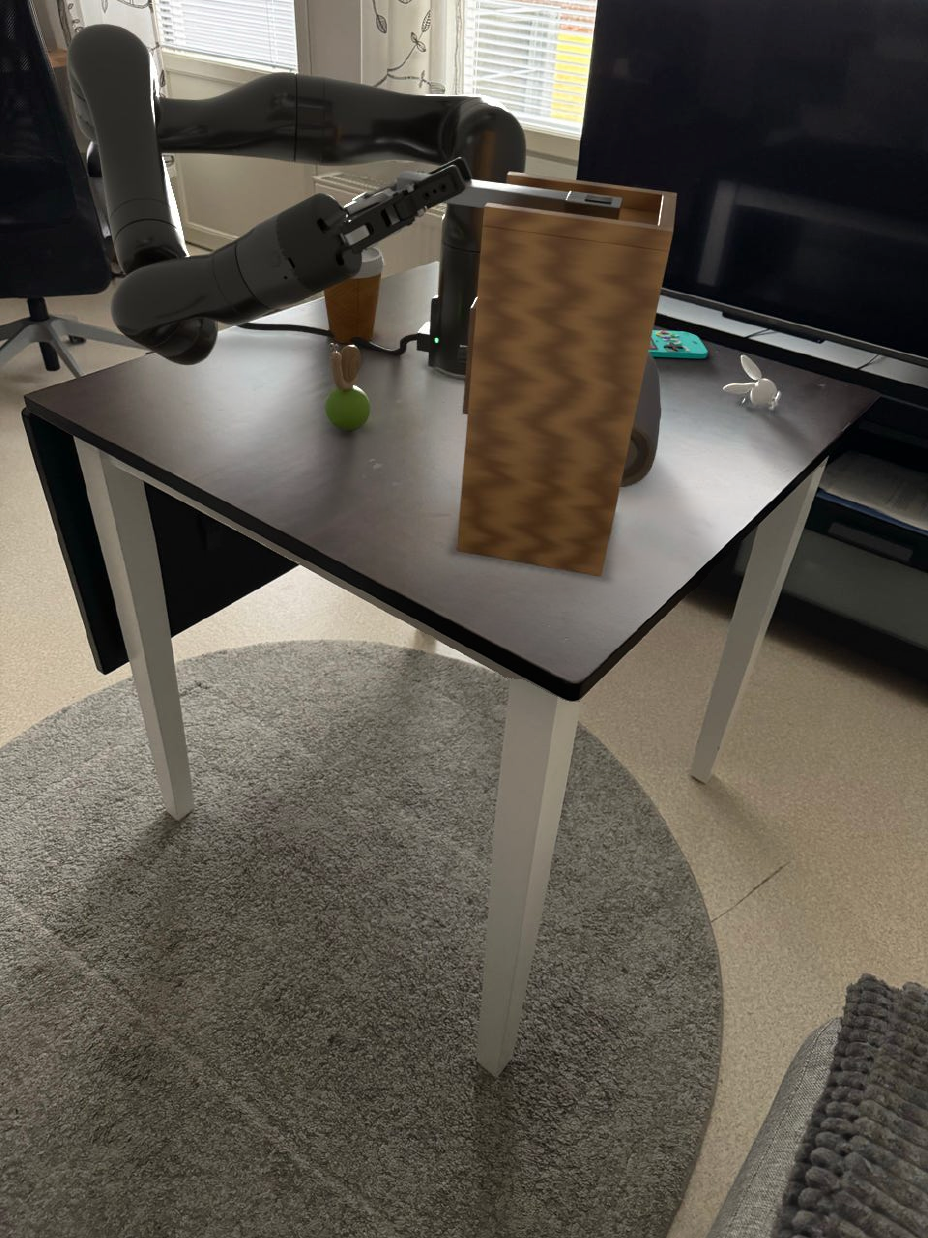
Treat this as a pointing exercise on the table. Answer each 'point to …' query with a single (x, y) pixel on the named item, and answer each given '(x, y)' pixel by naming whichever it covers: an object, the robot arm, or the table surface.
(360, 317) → the disposable coffee cup
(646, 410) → the bluetooth speaker
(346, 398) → the snail figurine
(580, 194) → the bottle opener
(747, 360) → the rabbit figurine
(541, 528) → the zigzag wood box
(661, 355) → the handheld gaming console
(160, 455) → the table surface
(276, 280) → the robot arm
